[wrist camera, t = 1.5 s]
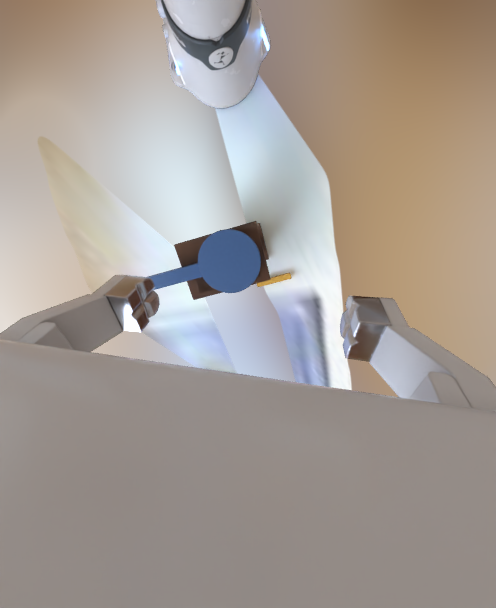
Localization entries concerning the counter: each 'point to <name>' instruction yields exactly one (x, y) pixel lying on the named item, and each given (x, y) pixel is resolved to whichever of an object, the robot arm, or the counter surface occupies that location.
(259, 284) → the fry
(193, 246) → the spoon stand
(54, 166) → the counter surface
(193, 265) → the spoon
